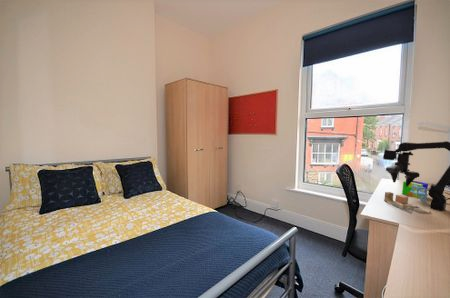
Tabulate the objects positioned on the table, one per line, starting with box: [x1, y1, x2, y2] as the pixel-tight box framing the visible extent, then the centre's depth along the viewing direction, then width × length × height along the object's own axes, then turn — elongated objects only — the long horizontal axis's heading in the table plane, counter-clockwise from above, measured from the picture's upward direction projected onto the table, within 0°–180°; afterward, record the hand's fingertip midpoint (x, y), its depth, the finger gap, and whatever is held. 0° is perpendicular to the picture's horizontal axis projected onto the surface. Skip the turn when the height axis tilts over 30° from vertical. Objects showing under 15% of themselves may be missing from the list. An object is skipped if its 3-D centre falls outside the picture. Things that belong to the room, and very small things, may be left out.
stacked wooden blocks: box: [383, 191, 410, 210], centre depth 130 cm, size 5×13×6 cm, turn 4°
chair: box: [410, 185, 429, 203], centre depth 137 cm, size 8×8×12 cm
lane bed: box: [391, 203, 432, 214], centre depth 128 cm, size 13×20×2 cm, turn 4°
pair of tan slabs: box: [404, 203, 431, 214], centre depth 124 cm, size 5×11×1 cm, turn 4°
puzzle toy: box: [401, 180, 429, 200], centre depth 151 cm, size 10×10×10 cm
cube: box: [394, 194, 409, 205], centre depth 134 cm, size 4×4×4 cm
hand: (400, 184), depth 136 cm, fingers open, 9 cm apart
